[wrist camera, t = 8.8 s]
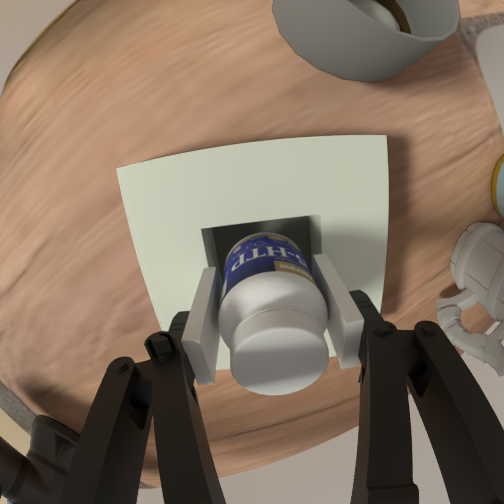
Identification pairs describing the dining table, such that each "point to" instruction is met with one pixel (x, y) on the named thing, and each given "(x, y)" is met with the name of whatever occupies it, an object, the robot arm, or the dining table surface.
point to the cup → (365, 33)
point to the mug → (477, 292)
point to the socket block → (259, 212)
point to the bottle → (498, 187)
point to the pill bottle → (272, 316)
